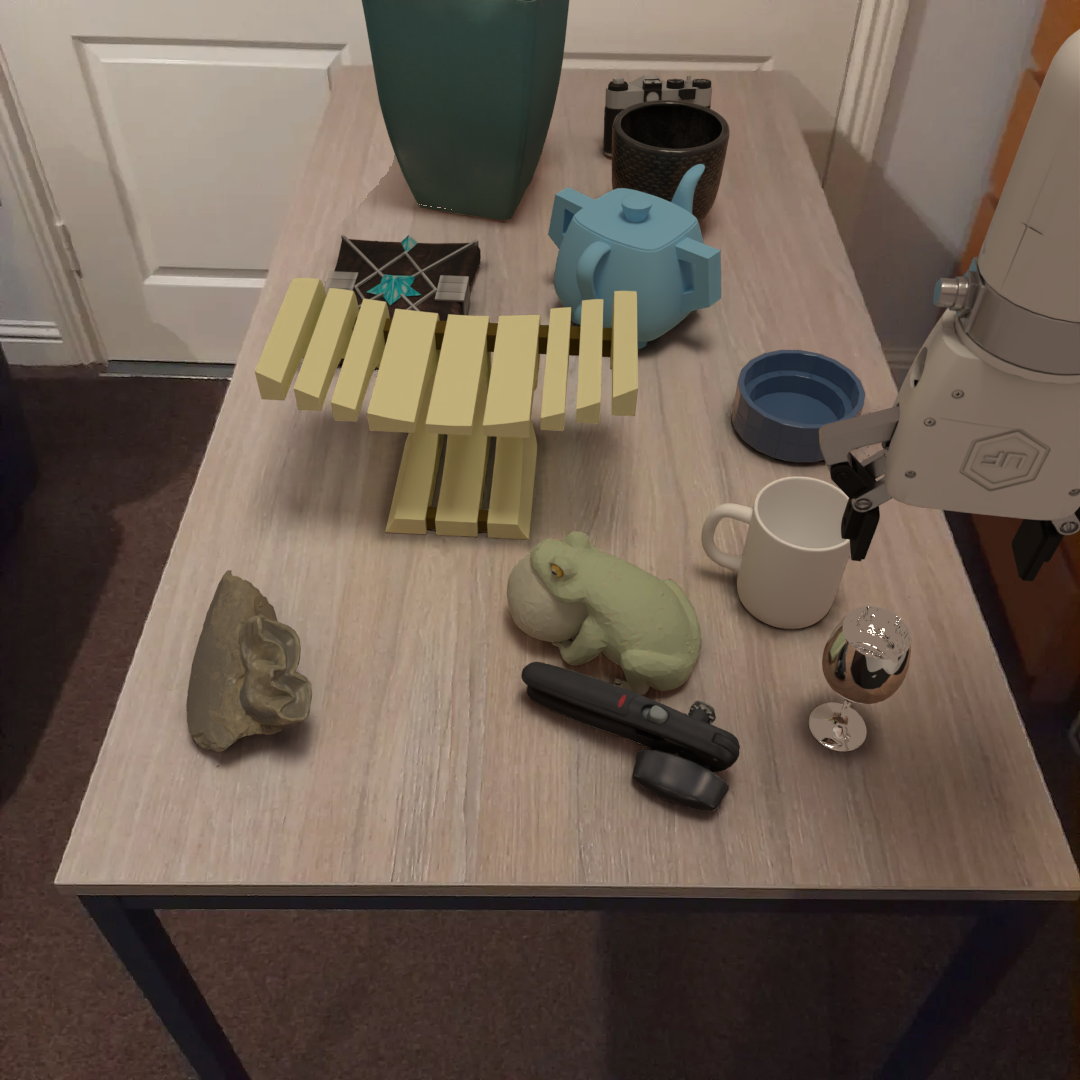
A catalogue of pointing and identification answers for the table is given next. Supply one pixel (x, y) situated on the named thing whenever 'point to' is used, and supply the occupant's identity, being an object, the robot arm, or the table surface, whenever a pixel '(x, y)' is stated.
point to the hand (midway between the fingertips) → (937, 553)
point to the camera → (650, 97)
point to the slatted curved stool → (450, 392)
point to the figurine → (605, 612)
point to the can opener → (645, 733)
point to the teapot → (635, 255)
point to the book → (408, 274)
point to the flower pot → (467, 95)
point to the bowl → (793, 402)
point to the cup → (786, 550)
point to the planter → (669, 150)
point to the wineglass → (860, 673)
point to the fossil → (244, 670)
